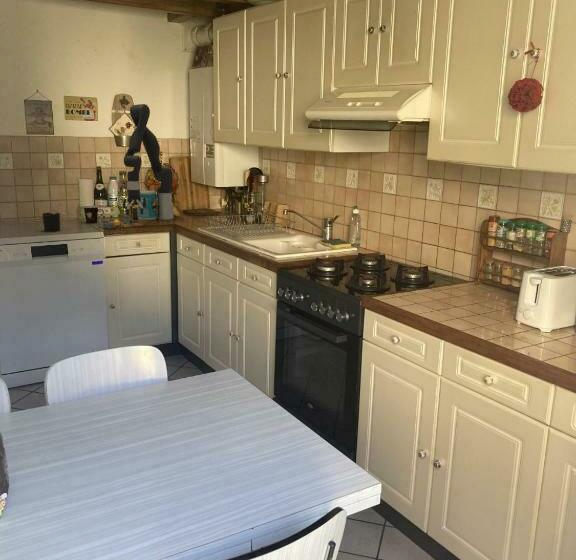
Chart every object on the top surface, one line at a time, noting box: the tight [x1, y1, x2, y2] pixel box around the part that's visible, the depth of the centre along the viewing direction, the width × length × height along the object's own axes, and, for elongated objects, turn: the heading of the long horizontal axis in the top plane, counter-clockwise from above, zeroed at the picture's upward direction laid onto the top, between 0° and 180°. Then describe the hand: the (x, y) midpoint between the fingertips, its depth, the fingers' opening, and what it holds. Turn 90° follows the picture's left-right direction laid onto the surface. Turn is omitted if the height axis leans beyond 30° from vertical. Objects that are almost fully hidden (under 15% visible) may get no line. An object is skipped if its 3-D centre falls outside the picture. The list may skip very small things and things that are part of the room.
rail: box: [119, 221, 144, 228], centre depth 383 cm, size 14×8×2 cm, turn 125°
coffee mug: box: [83, 205, 105, 224], centre depth 387 cm, size 12×9×10 cm
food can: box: [137, 190, 158, 221], centre depth 404 cm, size 12×12×18 cm
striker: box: [123, 207, 143, 224], centre depth 383 cm, size 9×6×10 cm, turn 125°
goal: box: [97, 220, 115, 229], centre depth 374 cm, size 7×10×3 cm, turn 35°
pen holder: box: [42, 212, 61, 233], centre depth 359 cm, size 9×9×10 cm
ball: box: [112, 219, 121, 227], centre depth 378 cm, size 4×4×4 cm
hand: (134, 214), depth 383 cm, fingers open, 8 cm apart
